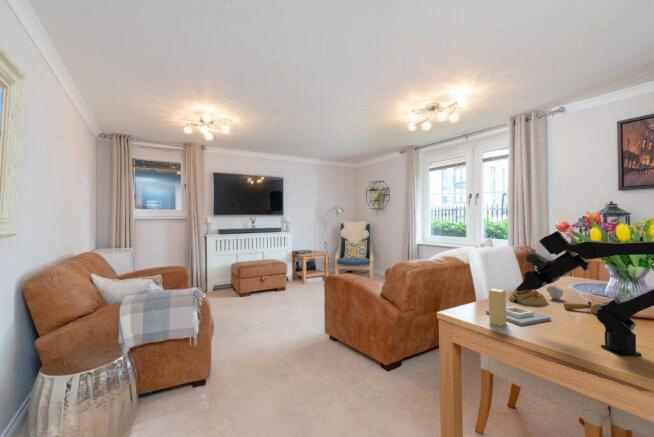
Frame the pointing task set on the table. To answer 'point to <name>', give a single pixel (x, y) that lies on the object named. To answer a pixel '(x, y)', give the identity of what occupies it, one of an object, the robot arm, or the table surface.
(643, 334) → the table surface
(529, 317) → the baseplate
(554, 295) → the frog figurine
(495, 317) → the pillar
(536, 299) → the pastry
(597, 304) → the kendama
